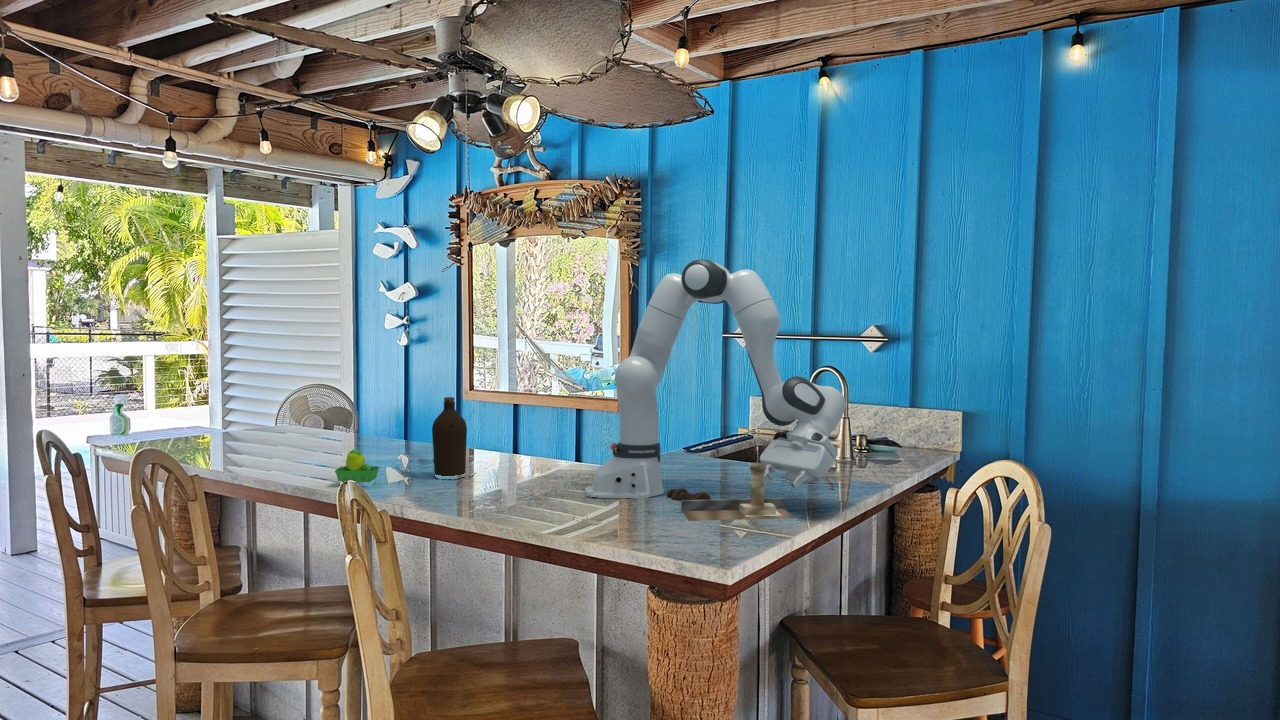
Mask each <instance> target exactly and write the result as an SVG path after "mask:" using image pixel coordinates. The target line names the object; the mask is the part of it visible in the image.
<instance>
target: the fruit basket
mask: <svg viewBox="0 0 1280 720" xmlns="http://www.w3.org/2000/svg"><path fill="white" fill-rule="evenodd" d="M365 461H366V457H365V456H364V455H363V454H362V453H361V452H360V451H359V450H358V448H353V449H351V450H350V451H349V452H348V453H347V456H346V461H345V466H343V465H342V466H340V467H338V468H336V469H335V470H334V473H335V474H336V477H337V482H338V481H342V482H344V481H347V480H353V481H356V482H358V481H359V482H370V481H372V480H374V479H375V478H376V479H377V476H378V472H379V471H380V466H378V465H375V466H374V465H371V464H368V463H365ZM359 482H358V483H359Z"/></svg>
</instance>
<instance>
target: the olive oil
mask: <svg viewBox="0 0 1280 720" xmlns="http://www.w3.org/2000/svg"><path fill="white" fill-rule="evenodd" d="M455 403H456V401H455V397H454V396H445V397H444V399H443V410H442V411H441V412H440V414H439V415H437V417H436V418H435V419H434V421H433V423H432V425H431V433H432V434H431V436H432V447H433V448H432V450H433V453H432V454H433V459H432V461H433V470H434V473H435V474H436V475H441V476H455V475H461V474H464V473H465V474H466V473H467V472H466V469H467V467H466V465H467V462H466V461H467V459H466V458H467V433H468V427H467V423H466V420H465V419H464V417H462V415H460V413H459V412H458V411H457V410H456V404H455ZM435 474H434V475H435Z"/></svg>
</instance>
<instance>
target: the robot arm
mask: <svg viewBox="0 0 1280 720" xmlns="http://www.w3.org/2000/svg"><path fill="white" fill-rule="evenodd" d="M696 302H698V303H704V304H710V305H711V304H712V305H713V304H714V305H717V304H719V305H720V304H723V303H725V302H726V303H727V304H728V305H729V307H730V308H731V310H732V314H733V316H734V317H735V320H736V322H737V325H738V327H739V330H740V332H741V334H742V337H743V340H744V344H745V348H746V353H747V355H748V359H749V361H750V365H751V368H752V370H753V372H754V376H755V379H756V382H757V384H758V386H759V389H760V393H761V394H760V395H761V406H762V407H761V408H762V412H763V414H764V417H765V418H766V419H767V420H768V421H769V422H770V423H772V424H774V425H776V426H780V427H785V426H786V427H787V426H790V425H792V424H793V423H794V422H795V421H796V420H797V422H798V423H797V424H795V426H794V428H793V429H792V430H791V431H792V432H791V434H790V436H789V438H783V437H780V438H778V439H776V440H773V441H771V442H770V443H769V444H768V446H766V448H765V449H764V450H763V451H762V452H761V455H760V456H759V461H760V463H765V464H766V469H765V472H764V483H765V482H766V483H772V481H773V479H774V476H773V473H774V472H775V471H780V472H785V473H786V472H791V473H796V474H801V475H799V476H798V477H797V478H796V479H795V478H793V480H792V481H791V482H789V483H790V487H791V486H792V488H793V489H794V488H795V489H799V488H800V486H801V485H802V484H804V483H803V482H805V481H806V480H808V479H809V477H810V476H811V477H814V478H817V479H821V478H823V477H824V476H826V474H827V473H828V472H829V470H830V468H831V466H832V464H833V462H834V458H835V457H837V455H838V450H837V448H836V447H835V446H834V444H833V443H832V441H831V440H830V439H829V438H830V435H831V433H832V432H834V431H835V430H836V428H837V427H838V425H839V424H840V421H841V420H842V417H843V415H844V413H845V410H846V406H847V405H846V404H847V401H846V399H845V397H844V395H843V394H842V392H841V391H840V390H838V389H837V388H835V387H833V386H830V385H819V384H816V383H813V382H811V381H810V380H809V379H807V378H805V377H803V376H798V375H797V376H796V375H795V376H792V377H789V378H787V379H785V381H783V380H782V378H781V375H780V372H779V370H778V366H777V364H776V362H775V358H774V346H775V341H776V338H777V336H778V333H779V331H780V328H781V318H780V314H779V310H778V308H777V306H776V304H775V301H774V298H772V295H771V293H770V291H769V289H768V288H767V286H766V284H765V282H763V280H762V279H761V277H760V276H759V274H757V272H756V271H754V270H751V269H740V270H737V271H735V272H733V273H732V272H731V271H730V270H729V269H728V268H726V267H724V265H722V264H720V263H717V262H715V261H712V260H708V259H705V258H704V259H703V258H702V259H701V258H700V259H695V260H693V261H690V262H689V263H688V264H687V265H686V266H684V268H683V270H682V273H681V274H680V273H667V274H666V275H664V276H663V277H662V279H661V281H659V283H658V284H657V286H656V288H655V289H654V292H653V293H652V296H651V297H650V300H649V301H648V304H647V306H646V309H645V311H644V313H643V316H642V318H641V320H640V323H639V324H638V325H639V326H638V327H637V330H636V335H635V339H634V342H633V344H632V345H633V346H632V349H631V351H630V354H629V357H626V358H625V359H623V360H622V361H620V363H619V364H618V366H617V368H616V370H615V375H614V381H615V384H616V386H615V387H616V397H617V404H618V411H619V442H618V443H616V442H612V443H610V445H609V447H610V449H611V451H612V456H611V457H610V458H609V459H607V460H606V461H605V462H604V463H602V464H601V465H599V467H597V468H596V470H595V471H594V474H593V478H592V479H593V480H592V485H589V486H586V487H585V489H584V494H585V493H586V494H587V495H588V496H587V495H586V494H585V495H586V496H587V497H589V496H590V497H589V498H592V497H598V498H597V499H625V498H636V499H635V500H638V499H643V500H645V498H646V499H649V498H652V497H656V496H660V495H663V494H664V493H665V488H664V485H663V481H662V474H661V469H660V468H661V467H660V463H661V454H662V453H661V452H662V451H661V450H662V449H661V443H660V442H659V439H660V438H659V437H660V435H659V434H660V433H659V430H660V427H659V423H660V421H659V417H660V416H659V412H658V411H659V410H658V404H657V403H658V401H657V391H656V388H657V387H658V386H659V385H660V383H661V381H662V378H663V376H664V373H665V369H666V368H667V365H668V362H669V359H670V357H671V354H672V350H673V348H674V345H675V343H676V340H677V338H678V336H679V333H680V330H681V328H682V327H683V323H684V322H685V319H686V317H687V315H688V312H689V311H690V308H691V306H692V305H693V304H694V303H696Z"/></svg>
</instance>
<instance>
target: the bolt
mask: <svg viewBox="0 0 1280 720" xmlns="http://www.w3.org/2000/svg"><path fill="white" fill-rule="evenodd" d="M666 498H668V499H671V500H673V501H680V502H681V500H712V498H711V496H710V495H709V493H708V492H707V491H702V492H700V491H699V492H695V493H691V492H688V490H687V489H686V488H684V487H683V488H681V487H680V488H679V487H678V488H675V489H674V488H673V489H668V491H667V494H666Z"/></svg>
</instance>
